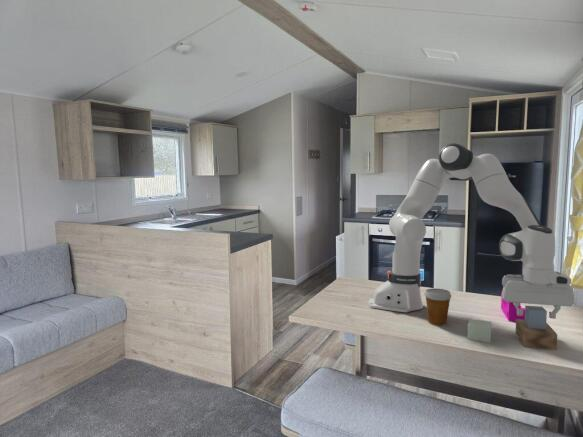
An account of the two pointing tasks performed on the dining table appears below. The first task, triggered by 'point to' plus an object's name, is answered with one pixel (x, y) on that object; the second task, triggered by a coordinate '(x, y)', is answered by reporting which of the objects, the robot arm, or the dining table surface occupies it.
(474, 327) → the sage block
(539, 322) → the slate block
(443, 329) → the dining table surface
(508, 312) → the toy block
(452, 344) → the dining table surface
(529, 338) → the walnut pedestal
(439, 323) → the disposable coffee cup
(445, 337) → the dining table surface
